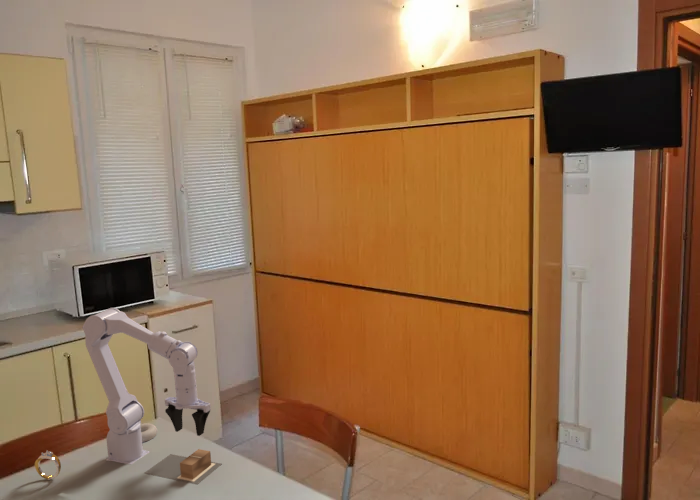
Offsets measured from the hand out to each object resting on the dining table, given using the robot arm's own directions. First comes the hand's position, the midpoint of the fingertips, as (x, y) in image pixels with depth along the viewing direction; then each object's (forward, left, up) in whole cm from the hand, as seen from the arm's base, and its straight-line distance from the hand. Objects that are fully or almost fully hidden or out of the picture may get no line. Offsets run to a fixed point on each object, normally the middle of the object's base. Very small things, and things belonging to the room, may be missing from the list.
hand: (189, 432), depth 161 cm
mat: (+1, -5, -9) cm, 10 cm away
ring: (-32, -21, -9) cm, 39 cm away
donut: (-25, +7, -9) cm, 28 cm away
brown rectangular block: (+5, -5, -8) cm, 11 cm away
